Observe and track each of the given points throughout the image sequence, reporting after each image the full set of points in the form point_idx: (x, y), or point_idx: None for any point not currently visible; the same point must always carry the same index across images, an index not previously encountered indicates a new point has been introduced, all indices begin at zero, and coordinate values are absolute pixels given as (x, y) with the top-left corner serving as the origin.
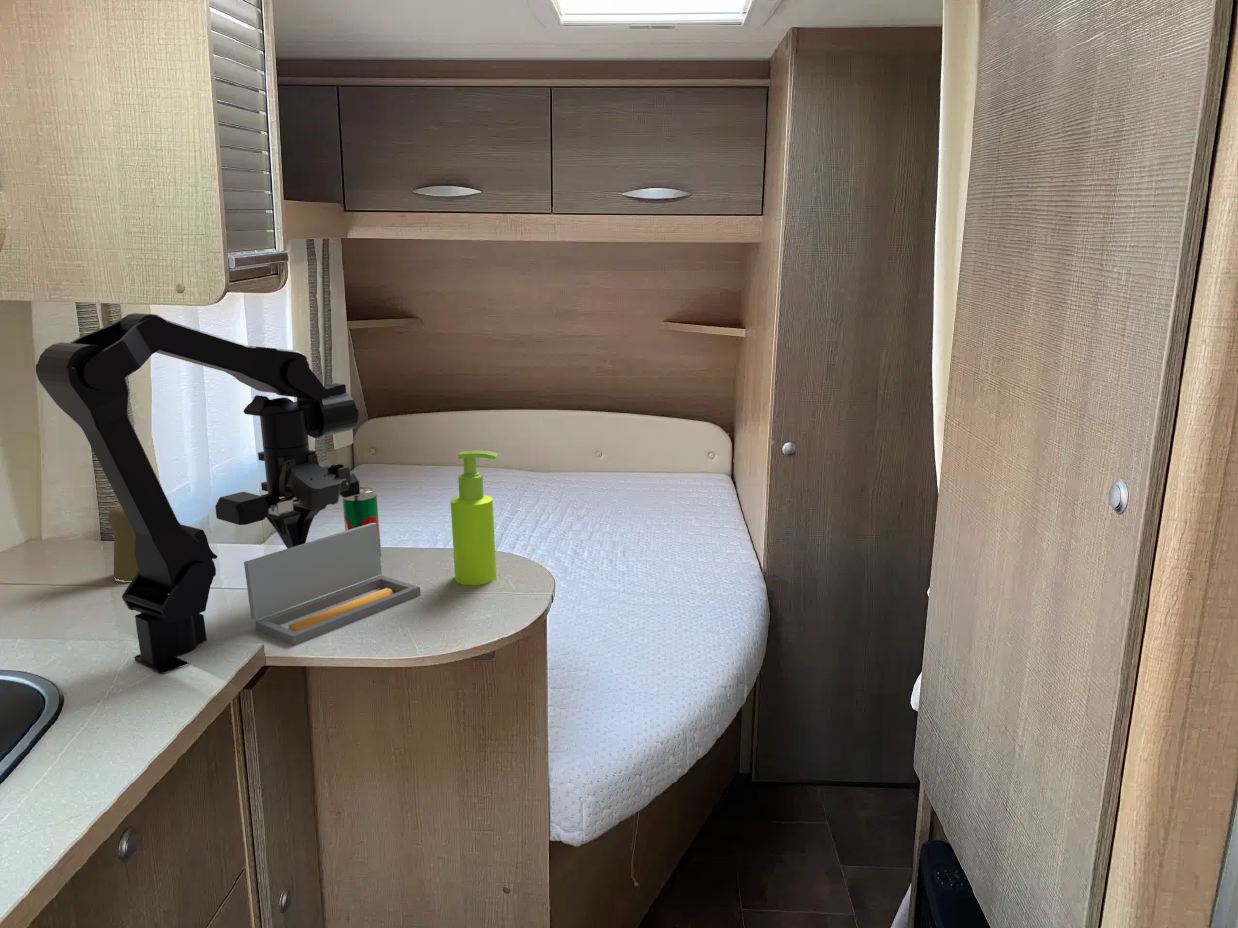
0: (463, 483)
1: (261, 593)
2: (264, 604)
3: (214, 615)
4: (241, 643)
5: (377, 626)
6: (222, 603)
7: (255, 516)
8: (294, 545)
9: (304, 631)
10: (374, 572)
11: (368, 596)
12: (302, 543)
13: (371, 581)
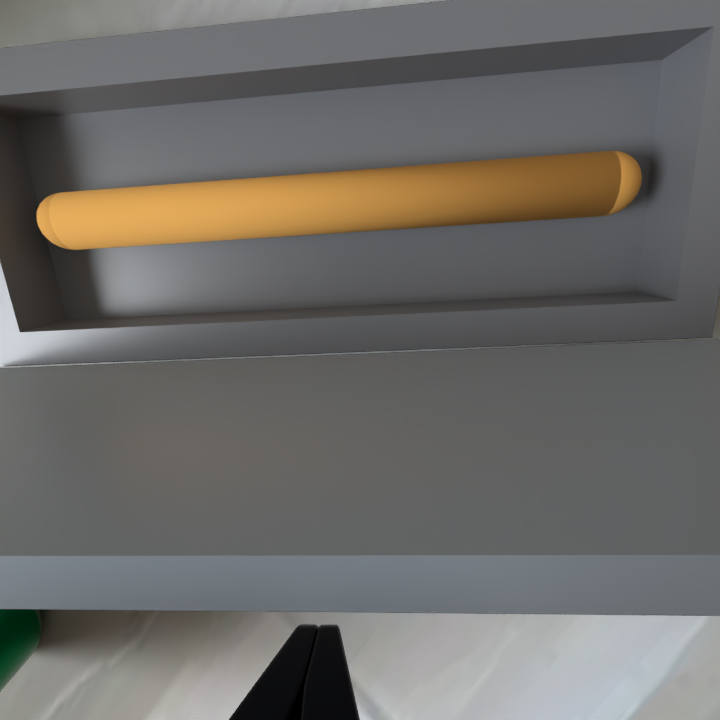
0: None
1: None
2: (693, 360)
3: (582, 623)
4: None
5: (262, 18)
6: (502, 681)
7: None
8: (346, 711)
9: None
10: (13, 373)
11: (164, 201)
12: (268, 706)
13: (68, 338)
